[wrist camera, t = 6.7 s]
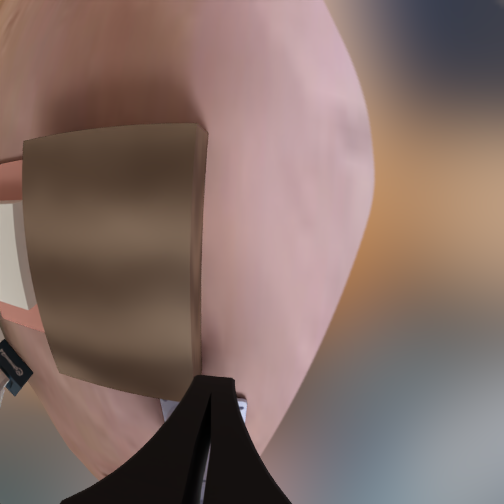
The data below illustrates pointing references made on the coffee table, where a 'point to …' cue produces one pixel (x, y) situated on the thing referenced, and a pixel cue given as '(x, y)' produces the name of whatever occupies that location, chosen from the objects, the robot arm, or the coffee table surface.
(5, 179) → the mat
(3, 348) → the watch
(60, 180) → the brown wooden block
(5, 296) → the tile
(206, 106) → the coffee table surface
